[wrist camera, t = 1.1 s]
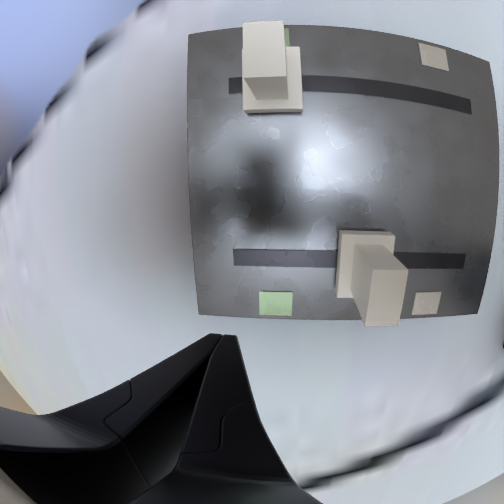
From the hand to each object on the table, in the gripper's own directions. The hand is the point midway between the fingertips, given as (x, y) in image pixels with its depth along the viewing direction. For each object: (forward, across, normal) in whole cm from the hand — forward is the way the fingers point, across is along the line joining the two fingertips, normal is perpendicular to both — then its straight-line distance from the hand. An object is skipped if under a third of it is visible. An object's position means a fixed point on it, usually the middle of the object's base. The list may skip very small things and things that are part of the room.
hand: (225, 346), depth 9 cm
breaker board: (+11, -6, -5) cm, 13 cm away
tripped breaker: (+9, -6, 0) cm, 10 cm away
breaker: (+9, -1, -10) cm, 13 cm away
